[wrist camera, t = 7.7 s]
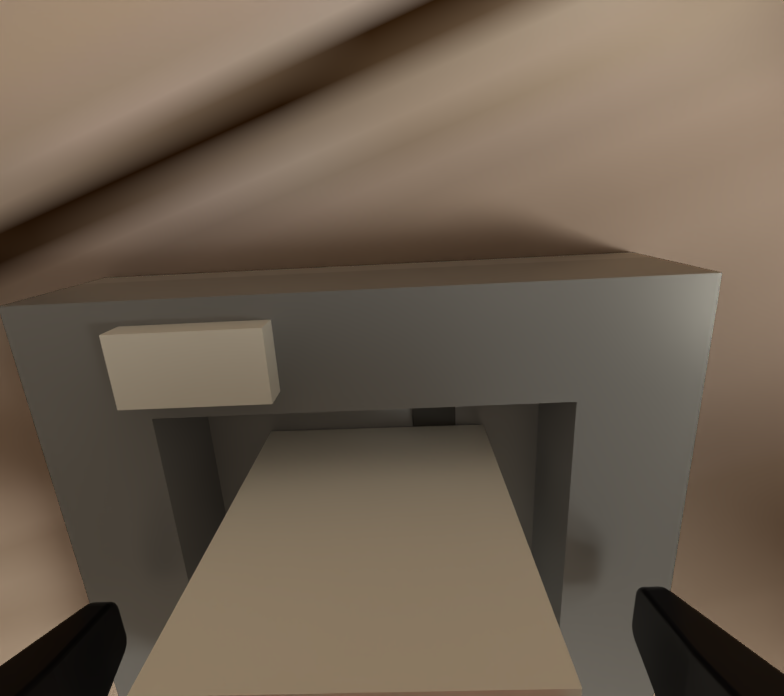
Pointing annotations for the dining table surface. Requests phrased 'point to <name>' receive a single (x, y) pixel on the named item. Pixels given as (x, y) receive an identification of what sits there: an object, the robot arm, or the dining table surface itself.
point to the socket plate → (378, 413)
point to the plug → (366, 578)
